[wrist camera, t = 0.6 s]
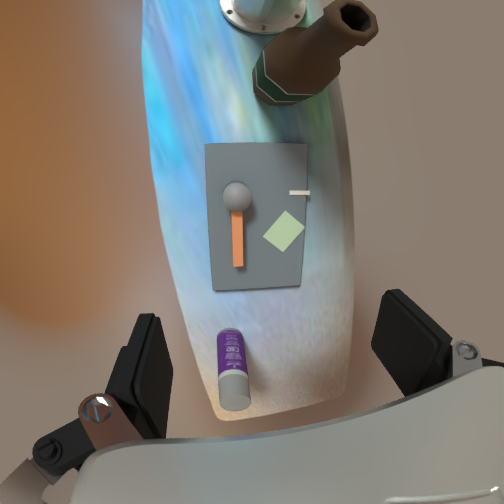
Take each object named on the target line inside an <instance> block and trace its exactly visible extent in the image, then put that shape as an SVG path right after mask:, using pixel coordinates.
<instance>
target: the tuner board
mask: <svg viewBox="0 0 504 504" xmlns="http://www.w3.org/2000/svg"><path fill="white" fill-rule="evenodd" d="M307 161H308V144H298V143H215V144H205V169H206V194H207V215H208V232H209V248H210V262H211V275H212V288H213V291H214V290H233V289H250V288H266V287H281V286H294V285H300V281H301V269H302V256H303V243H304V228H305V210H306V195H310V191H306V189H307ZM233 181H240V182H242V183H244V184H245V185H246V186H247V188H248V189H249V191H250V193H251V203H250V205H249V206H248V208H246V209H245V210H243V211H242V222H243V266H238V267H233V254H232V223H231V211H230V210H229V209H227V208H226V206H225V205H224V202H223V190H224V188H225V186H226V185H227V184H228V183H230V182H233Z"/></svg>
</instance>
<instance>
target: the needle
mask: <svg viewBox="0 0 504 504" xmlns="http://www.w3.org/2000/svg"><path fill="white" fill-rule="evenodd" d="M223 202H224V205H225V206H226V208H227V209H229V210H230V211H231V223H232V254H233V267H238V266H243V222H242V211H243V210H245V209H246V208H248V206H249V205H250V203H251V193H250V191H249V189H248V188H247V186H246V185H245V184H244V183H242V182H240V181H233V182H230V183H228V184H227V185H226V186H225V188H224V190H223Z"/></svg>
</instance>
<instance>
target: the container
mask: <svg viewBox="0 0 504 504" xmlns="http://www.w3.org/2000/svg"><path fill="white" fill-rule="evenodd" d="M217 364H218V386H219V399H220V406H221V407H222V408H223V409H225V410H228V411H241V410H244V409H246V408H248V407H249V406H250V404H251V397H250V389H249V380H248V372H247V365H246V358H245V351H244V344H243V337H242V334H241V332H240V331H238V330H237V329H234V328H226V329H223V330H221V331H220V332H219V333H218V335H217Z"/></svg>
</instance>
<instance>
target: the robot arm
mask: <svg viewBox="0 0 504 504" xmlns="http://www.w3.org/2000/svg"><path fill="white" fill-rule="evenodd" d="M219 6H220V10H221V12H222V13H223V15H224V16H225V18H226V19H227V20H228V21H229V22H231V23H232V24H233V25H235V26H236V27H238V28H240V29H242V30H245V31H248V32H252V33H256V34H265V35H266V34H277V33H282V32H283V31H284V30H285V29H287V28H290V27H295V26H296V25H297V24H298V23H299V22H300V21H301V20H302V18H303V16H304V14H305V11H306V1H305V0H219ZM228 13H230V14H228ZM295 17H296V18H295ZM262 29H265V30H262ZM451 341H452V337H450V335H449V334H448V333H447V332H446V331H444V330H443V329H442V328H441V327H440V326H439V325H438V324H437V323H436V322H435V321H434V320H433V319H432V318H431V317H429V315H427V314H426V313H425V312H424V311H423V310H422V309H421V308H420V307H419V306H418V305H416V304H415V303H414V302H413V301H412V300H411V299H410V298H409V297H408V296H407V295H405V294H404V293H403V292H402V291H401V290H400V289H393V290H387V291H386V292H385V294H384V295H383V296H382V300H381V304H380V309H379V313H378V317H377V321H376V326H375V330H374V334H373V337H372V341H371V347H372V349H373V351H374V352H375V353H376V355H377V357H378V358H379V359H380V361H381V362H382V364H383V365H384V367H385V368H386V369H387V371H388V372H389V374H390V375H391V377H392V378H393V380H394V381H395V382H396V384H397V386H398V387H399V389H400V390H401V391H402V393H403V394H404V396H405V397H404V398H401V399H399V400H396V401H393V402H391V403H387V404H385V405H382V406H378V407H375V408H372V409H369V410H366V411H363V412H359V413H356V414H352V415H349V416H345V417H341V418H337V419H333V420H329V421H325V422H321V423H316V424H311V425H306V426H301V427H295V428H290V429H284V430H278V431H271V432H263V433H255V434H246V435H235V436H222V437H206V438H169V439H166V430H167V420H168V411H169V402H170V394H171V386H172V379H173V367H172V363H171V359H170V356H169V352H168V348H167V344H166V341H165V337H164V333H163V329H162V325H161V321H160V318H159V317H155V315H154V314H153V313H147V314H140V315H139V316H138V319H137V322H136V324H135V326H134V329H133V332H132V334H131V337H130V339H129V342H128V345H127V346H123V347H122V348H121V350H120V352H119V355H118V357H117V360H116V363H115V365H114V368H113V371H112V374H111V376H110V379H109V382H108V385H107V387H106V390H105V393H104V394H103V393H98V394H93V395H90V396H88V397H86V398H85V399H84V400H83V401H82V402H81V403H80V406H79V408H78V415H79V418H77V419H76V420H74V421H72V422H70V423H68V424H66V425H65V426H63V427H61V428H59V429H57V430H55V431H53V432H51V433H49V434H47V435H45V436H44V437H42V438H40V439H39V440H38V441H37V442H36V443H35V444H34V447H33V458H32V459H31V460H29V459H28V458H27V459H26V460H25V461H23V462H22V464H20V465H19V466H18V467H17V468H16V469H15V470H14V471H13V472H12V473H11V474H10V475H9V476H8V477H7V478H6V479H5V480H4V481H3V482H2V483H1V484H0V500H1V502H2V503H3V504H69V503H70V504H504V363H501V362H496V361H493V360H488V359H484V358H481V353H480V350H479V349H478V347H477V346H476V345H474V344H473V343H471V342H468V341H463V340H461V341H457V342H455V343H454V345H453V346H451V345H450V343H451Z"/></svg>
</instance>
